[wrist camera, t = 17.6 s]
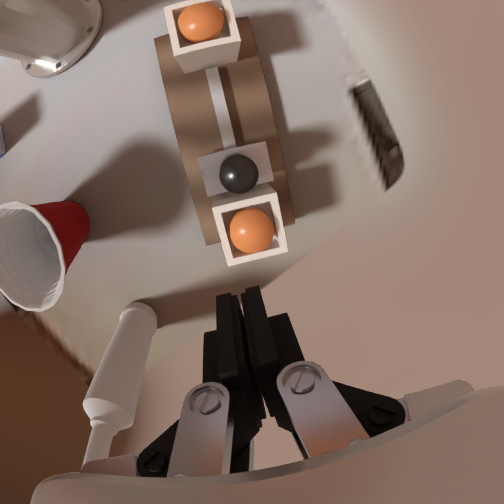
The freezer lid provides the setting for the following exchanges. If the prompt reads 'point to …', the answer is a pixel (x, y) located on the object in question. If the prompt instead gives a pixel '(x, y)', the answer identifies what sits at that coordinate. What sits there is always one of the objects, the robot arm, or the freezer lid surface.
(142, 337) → the bottle
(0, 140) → the medicine box
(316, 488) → the robot arm
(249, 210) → the gauge button
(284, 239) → the pair of ball holders
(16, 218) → the plastic cup
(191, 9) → the ball
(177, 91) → the rail board
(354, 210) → the freezer lid surface
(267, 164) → the carriage
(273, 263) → the freezer lid surface
